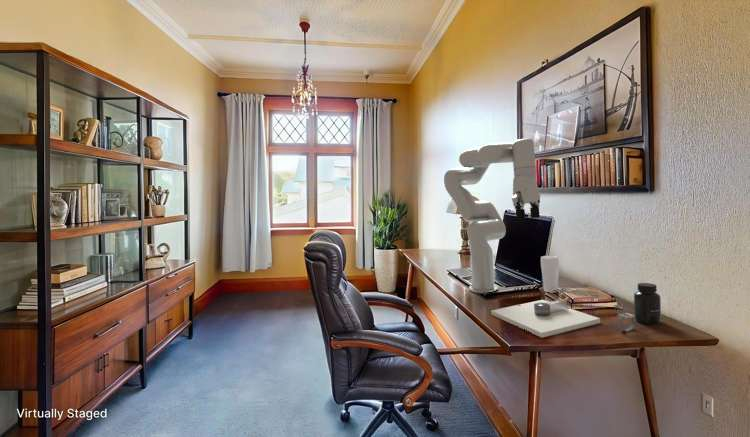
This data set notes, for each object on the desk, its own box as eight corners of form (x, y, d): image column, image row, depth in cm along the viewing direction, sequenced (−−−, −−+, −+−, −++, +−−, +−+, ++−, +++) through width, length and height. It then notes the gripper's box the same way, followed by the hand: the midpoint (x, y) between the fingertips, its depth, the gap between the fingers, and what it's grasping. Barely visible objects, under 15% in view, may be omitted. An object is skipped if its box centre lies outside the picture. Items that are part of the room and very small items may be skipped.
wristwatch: (630, 327, 111) (630, 311, 111) (639, 330, 108) (638, 314, 108) (614, 330, 110) (614, 314, 109) (623, 334, 107) (622, 317, 107)
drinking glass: (562, 293, 149) (561, 257, 148) (546, 294, 150) (545, 259, 149) (555, 289, 156) (553, 255, 155) (539, 290, 156) (537, 256, 155)
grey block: (542, 316, 120) (541, 307, 120) (531, 312, 125) (530, 303, 125) (570, 310, 124) (570, 301, 124) (558, 306, 129) (558, 297, 129)
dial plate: (491, 314, 131) (491, 310, 131) (543, 303, 139) (542, 299, 139) (541, 337, 108) (541, 332, 108) (600, 322, 116) (600, 317, 116)
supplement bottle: (658, 326, 110) (657, 288, 109) (631, 322, 115) (630, 285, 114) (663, 320, 114) (662, 283, 114) (637, 316, 120) (636, 280, 119)
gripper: (528, 173, 141) (531, 217, 142) (502, 174, 131) (505, 221, 131) (546, 171, 135) (550, 216, 136) (521, 171, 125) (524, 220, 125)
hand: (528, 218), depth 133 cm, fingers open, 9 cm apart
